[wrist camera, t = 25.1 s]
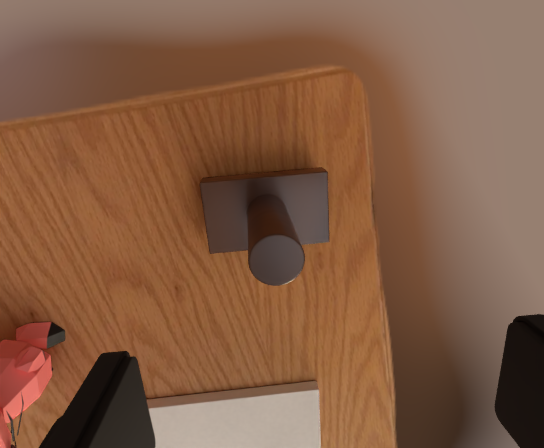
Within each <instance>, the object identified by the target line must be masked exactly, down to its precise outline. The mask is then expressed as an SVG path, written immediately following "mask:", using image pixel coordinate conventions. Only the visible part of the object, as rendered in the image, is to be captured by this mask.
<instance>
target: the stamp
mask: <svg viewBox="0 0 544 448" xmlns="http://www.w3.org/2000/svg"><path fill="white" fill-rule="evenodd" d="M200 190H201V197H202V203H203V210H204V217H205V224H206V231H207V238H208V245H209V252H210V254H214V253H224V252H234V251H244V250H248V264H249V268H250V270H251V272H252V274H253V275H254V276H255V278H257V279H258V280H259V281H261V282H262V283H265V284H268V285H273V286H279V285H284V284H287V283H289V282H291V281H293V280H294V279H295V278H296V277H297V276H298V275H299V274H300V272H301V271H302V269H303V266H304V262H305V255H304V251H303V248H302V246H301V245H305V244H315V243H325V242H329V210H328V172H327V171H326V170H325V169H323V168H322V167H321V168H309V169H298V170H287V171H276V172H264V173H253V174H242V175H231V176H220V177H208V178H202V180H201V182H200Z"/></svg>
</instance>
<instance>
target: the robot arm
mask: <svg viewBox="0 0 544 448" xmlns="http://www.w3.org/2000/svg"><path fill="white" fill-rule="evenodd" d="M495 412H496V415H497V417H498V419H499V421H500V422H501V424H502V425H503V426H504V428H505V429H506V430H507V431H508V433H509V434H510V435H511V437H512V438H513V439H514V440H515V442H516V443H517V444H518V446H519V447H520V448H544V315H541V314H537V315H526V316H518V317H516V318H515V319H514V320H513V323H510V325H509V326H508V329H507V335H506V341H505V347H504V353H503V359H502V365H501V371H500V377H499V383H498V388H497V395H496V400H495ZM155 445H156V442H155V435H154V430H153V426H152V422H151V417H150V413H149V409H148V404H147V400H146V396H145V391H144V387H143V383H142V378H141V374H140V370H139V365H138V361H137V358H136V357H130V355H129V353H128V352H127V351H121V352H109V353H103V354H101V355H100V356H99V358H98V359H97V361H96V362H95V364H94V366H93V367H92V369H91V371H90V372H89V374H88V375H87V377H86V379H85V380H84V382H83V384H82V385H81V387H80V389H79V390H78V392H77V393H76V395H75V397H74V398H73V400H72V402H71V403H70V405H69V406H68V408H67V410H66V411H65V413H64V415H63V416H62V417H60V418H59V419H57V421H56V422H55V423H54V425H53V426H52V428H51V429H50V431H49V432H48V434H47V435H46V437H45V439H44V440H43V442H42V443H41V445H40V447H39V448H155Z"/></svg>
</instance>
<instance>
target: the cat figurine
mask: <svg viewBox="0 0 544 448" xmlns="http://www.w3.org/2000/svg"><path fill="white" fill-rule="evenodd" d="M63 341H65V330H63V329H61V328H60V327H58V326H57V325H55V324H54V323H52V322H42V323H28V324H26V325H24V326H21V327H19V328H16V341H13V340H6V339H4V340H2V341H1V342H0V448H16V442H15V446H14V445H11V434H10V431H9V429H8V427H7V423H8V422H11V433H12V438H13V441H14V440H15V437H14V429H13V419H14V418H15V417H17V416H18V415H19V414H21V416H22V412H23V411H24V410H26V409H27V408H28V406H30V405H31V404H32V403H33V402H34V401H36V400H37V399H38V398H39V397H40V396H41V394H42V392H43V391H44V389H45V387H46V385H47V384H48V382H49V380H50V379H51V377H52V371H53V368H52V366H51V355H50V354H48V353H47V352H45V351H43V350H41V349H47V348H50V347H52V346H54V345H56V344H58V343H60V342H63ZM21 416H20V421H19V427H20V422H21ZM19 427H18V432H17V436H18V433H19Z"/></svg>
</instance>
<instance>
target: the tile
mask: <svg viewBox="0 0 544 448" xmlns="http://www.w3.org/2000/svg"><path fill="white" fill-rule="evenodd" d="M147 404H148V409H149V413H150V417H151V422H152V426H153V430H154V435H155V442H156V445H155V448H321V438H320V407H319V388H318V384H317V381H309V382H300V383H291V384H282V385H273V386H264V387H255V388H246V389H237V390H228V391H219V392H210V393H201V394H192V395H183V396H174V397H165V398H156V399H147Z"/></svg>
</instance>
